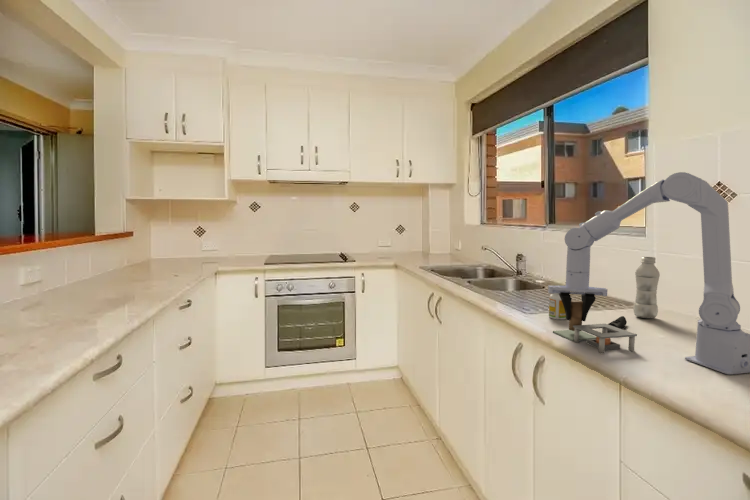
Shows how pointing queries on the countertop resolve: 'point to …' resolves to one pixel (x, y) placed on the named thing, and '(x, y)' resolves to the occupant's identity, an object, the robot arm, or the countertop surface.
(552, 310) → the supplement bottle
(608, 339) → the plunger
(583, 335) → the coaster
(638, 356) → the countertop surface
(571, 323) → the dowel
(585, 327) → the guard
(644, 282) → the plastic bottle
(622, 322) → the electric trimmer
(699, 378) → the countertop surface
